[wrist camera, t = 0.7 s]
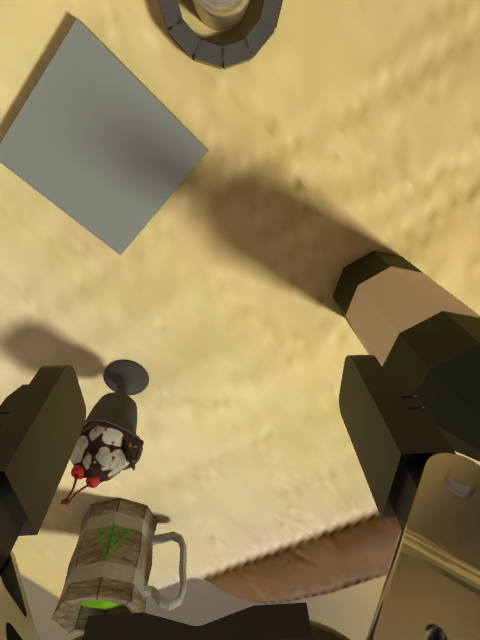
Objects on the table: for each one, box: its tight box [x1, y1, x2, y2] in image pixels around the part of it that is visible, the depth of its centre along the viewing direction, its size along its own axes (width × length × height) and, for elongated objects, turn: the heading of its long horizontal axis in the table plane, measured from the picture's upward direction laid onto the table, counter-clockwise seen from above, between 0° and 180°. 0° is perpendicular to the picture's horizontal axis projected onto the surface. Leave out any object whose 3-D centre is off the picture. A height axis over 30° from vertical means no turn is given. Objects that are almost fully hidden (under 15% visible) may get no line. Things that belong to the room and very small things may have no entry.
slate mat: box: [0, 19, 208, 255], centre depth 30 cm, size 12×12×1 cm
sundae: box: [61, 361, 149, 505], centre depth 35 cm, size 7×7×15 cm
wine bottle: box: [333, 251, 480, 461], centre depth 25 cm, size 8×8×30 cm
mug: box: [52, 498, 187, 635], centre depth 50 cm, size 16×11×12 cm
